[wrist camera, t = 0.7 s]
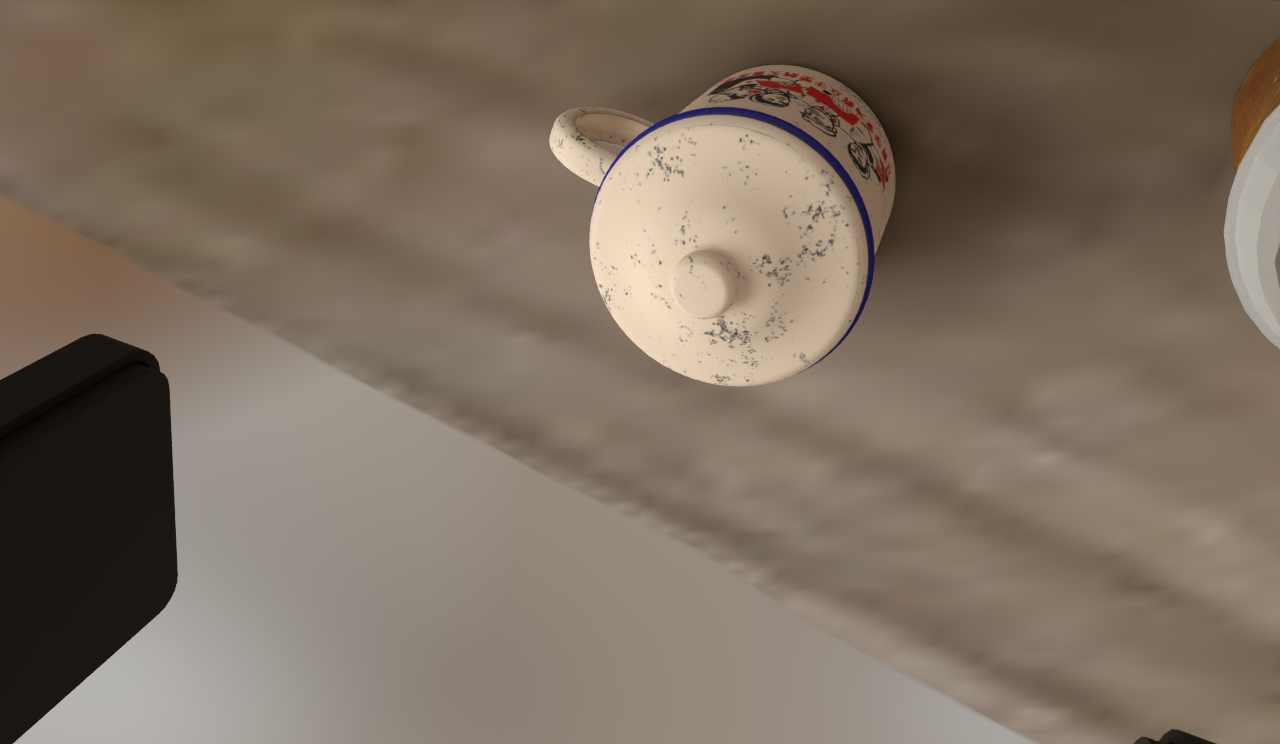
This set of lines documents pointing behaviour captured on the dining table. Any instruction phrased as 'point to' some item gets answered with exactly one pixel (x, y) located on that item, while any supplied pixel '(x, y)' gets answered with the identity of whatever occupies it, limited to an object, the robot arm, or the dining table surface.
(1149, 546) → the dining table surface
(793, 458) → the dining table surface
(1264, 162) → the disposable coffee cup
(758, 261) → the teacup with lid
